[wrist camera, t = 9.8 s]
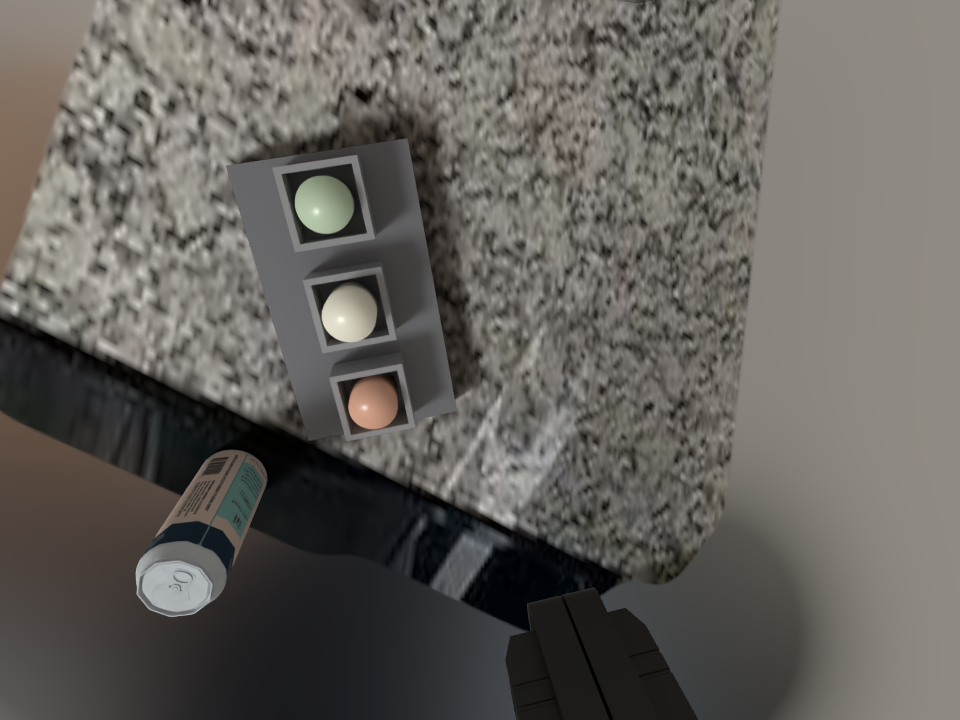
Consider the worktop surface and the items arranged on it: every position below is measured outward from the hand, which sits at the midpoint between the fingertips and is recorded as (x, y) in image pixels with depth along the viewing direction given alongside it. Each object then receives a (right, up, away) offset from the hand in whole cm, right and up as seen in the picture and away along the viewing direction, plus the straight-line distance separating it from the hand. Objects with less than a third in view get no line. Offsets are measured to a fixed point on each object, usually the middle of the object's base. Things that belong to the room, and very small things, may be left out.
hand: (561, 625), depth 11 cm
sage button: (-11, +16, +21) cm, 29 cm away
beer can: (-21, -3, +29) cm, 36 cm away
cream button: (-10, +9, +23) cm, 27 cm away
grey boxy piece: (-11, +10, +26) cm, 30 cm away
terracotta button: (-9, +4, +26) cm, 28 cm away
